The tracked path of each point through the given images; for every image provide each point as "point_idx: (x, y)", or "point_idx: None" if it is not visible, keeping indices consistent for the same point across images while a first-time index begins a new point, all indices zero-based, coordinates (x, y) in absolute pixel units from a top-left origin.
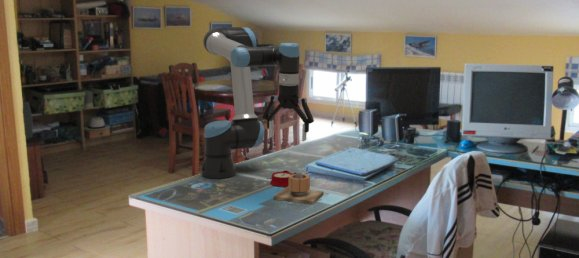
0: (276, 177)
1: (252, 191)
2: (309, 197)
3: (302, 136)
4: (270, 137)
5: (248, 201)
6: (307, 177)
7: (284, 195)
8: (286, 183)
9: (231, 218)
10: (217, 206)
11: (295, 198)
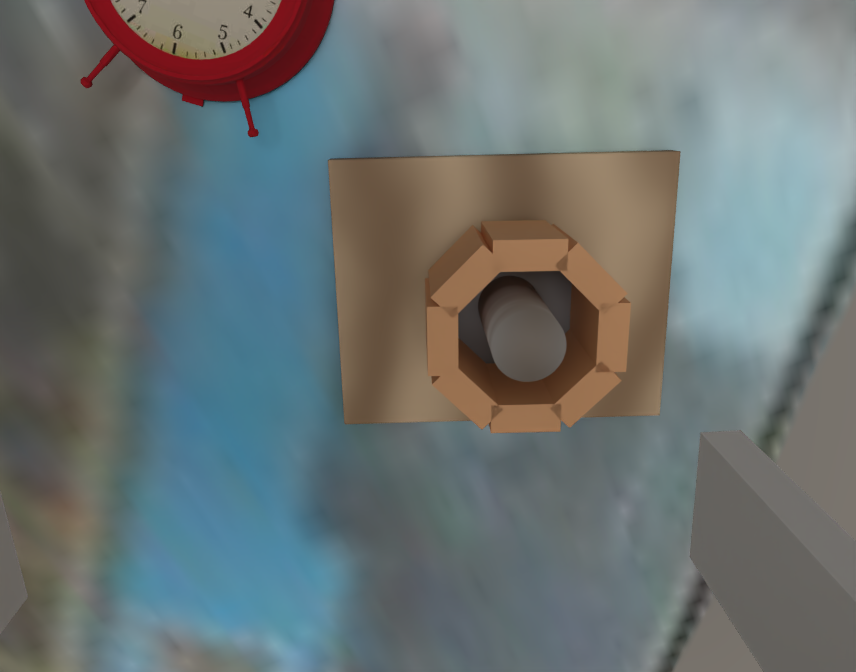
0: (179, 79)
1: (106, 310)
2: None
3: (734, 617)
4: (17, 598)
5: (211, 520)
6: (614, 337)
7: (414, 378)
8: (289, 61)
9: None
10: (90, 668)
11: None
